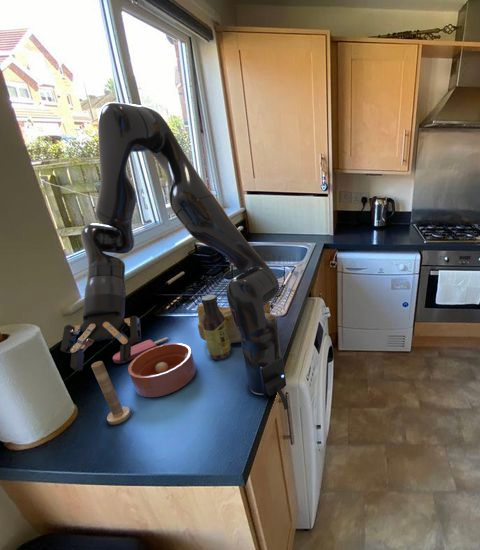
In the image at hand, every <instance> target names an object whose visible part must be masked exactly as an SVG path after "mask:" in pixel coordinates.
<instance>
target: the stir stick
mask: <svg viewBox="0 0 480 550" xmlns="http://www.w3.org/2000/svg"><path fill="white" fill-rule="evenodd" d="M90 367H91V369H92V372H93V374H94V376H95V378H96V381H97V383H98V385H99V388H100V389H101V393H102V394H103V396H104V399H105V401H106V404H107V406H108V407H109V410H110V412H109V413H108V414H107V417H106V421H107V423H108V425H111V426H115V425H116V426H117V425H120V424H122V423H124V422H126V421H127V420H128V419H129V418H130V417H131V415H132V411H131V409H130V407H129V406H122V404H121V402H120V400H119V397H118V395H117V392H116V390H115V388H114V385H113V382H112V380H111V377H110V376H109V373H108V371H107V369H106V366H105V364H104V361H102V360H98V361H95V362H93V363H92V364H91V365H90Z"/></svg>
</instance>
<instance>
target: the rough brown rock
mask: <svg viewBox="0 0 480 550" xmlns="http://www.w3.org/2000/svg"><path fill="white" fill-rule="evenodd" d="M218 307H219V310H220V312H221V313H222V314H223V316H224V317H225V320H226V325H227V330H228V335H229V340H230V344H236V343H241V340H240V334H239V331H238V329H237V328H236V326H235V324H234V322H233V318H232V314H231V310H230V307H229V306H227V307H225V306H220V305H218ZM263 307H264V313H269V314H271V303H270V301H269V302H268V303H267V304H266V305H264V306H263ZM196 312H197V319H198V322H197V323H198V324H197V329H198V333H199V337H200V338H201V339H202V340H203V341H205V342H206V338H205V334H204V329H203V323H202V318H203V315H204V313H205V312H204V307H203V304H202V303H200V304H199V305H197V306H196Z"/></svg>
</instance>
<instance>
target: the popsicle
mask: <svg viewBox="0 0 480 550" xmlns="http://www.w3.org/2000/svg"><path fill="white" fill-rule="evenodd" d="M168 339H169V337H168V336H166V337H163V338H161V339H158V340H156V341H153V340H152V339H150V338H149V339H147V340H144V341H141V342H138V343H137V344H135V345H131V357H130V359H128V362H130V361H133V360H134V359H135V358H136V357H137V356H139V355H140V354H142V353H143V352H145V351H147V350H149V349H151V348H154V347H157V346H158V345H157V344H159V343H162V342H165V341H167V340H168ZM112 360H113V363H115V364H124V363H123V362H120V351H118V352H117V353H115V354H114V355H113V356H112Z"/></svg>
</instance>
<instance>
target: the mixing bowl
mask: <svg viewBox="0 0 480 550" xmlns="http://www.w3.org/2000/svg"><path fill="white" fill-rule="evenodd" d="M160 362H165V363H167V365H168V369H167V370H166V371H165V372H163V373H158V372H156V370H155V367H156V365H157V364H158V363H160ZM127 368H128V369H127V373H128V375H129V377H130V380H131V382H132V385H133V388H134V390H135V393H136V394H137V395H139V396H141V397H145V398H157V397H162V396H166V395H169V394H171V393H174V392H176V391H178V390H181V388H183V387H185V386H186V385H187V384H189V382H191V381H192V379H193V378H194V377H195V375H196V372H197V366H196V362H195V359H194V355H193V351H192V348H191V347H190V346H189V345H188V344H185V343H181V342H170V343H164V344H161V345H157V347H154V348H151V349H149V350H147V351H145V352H143V353H142V354H140V355H139V356H137V357H136V358H134V359H132V360H131V362H130V363H129V365H128V367H127Z"/></svg>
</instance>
